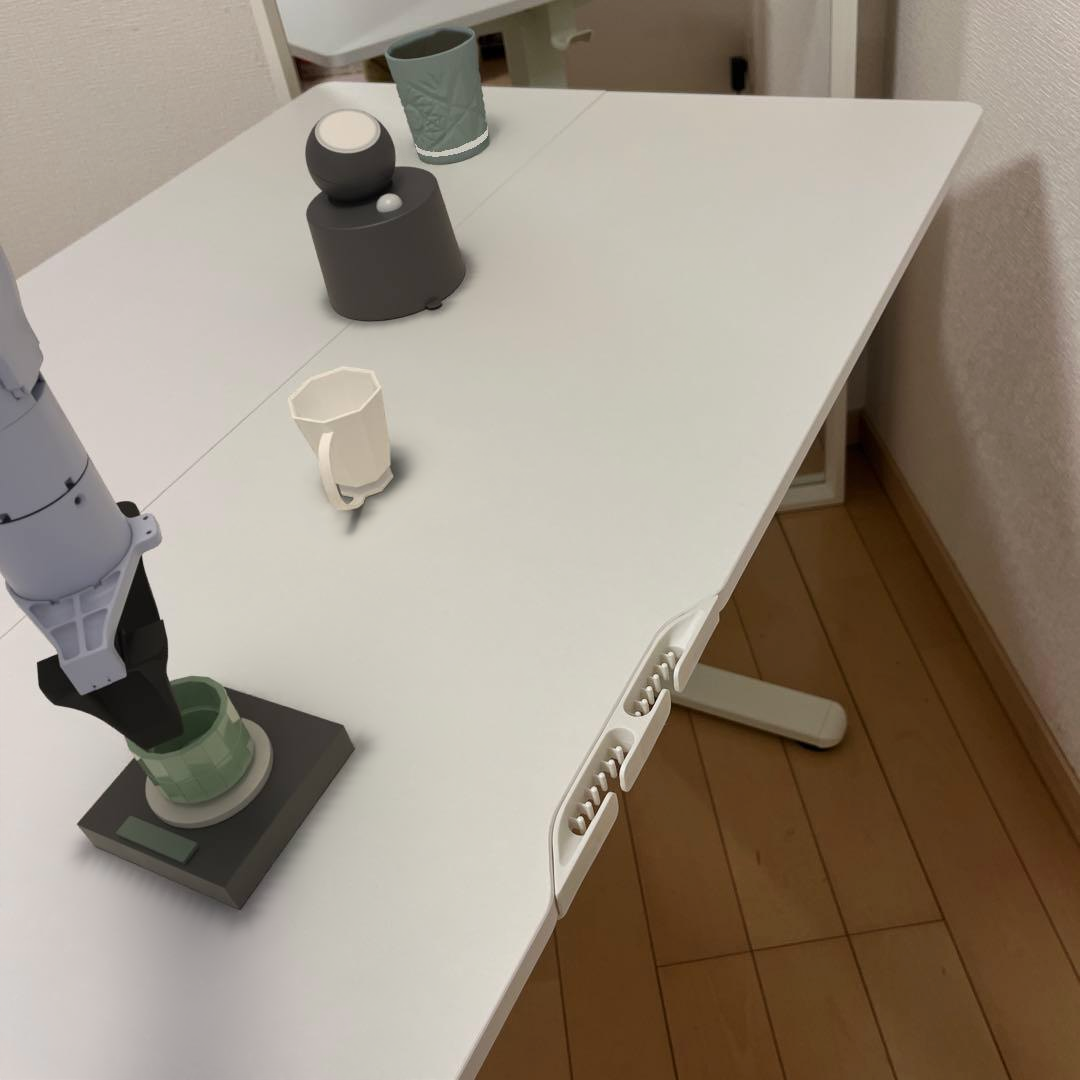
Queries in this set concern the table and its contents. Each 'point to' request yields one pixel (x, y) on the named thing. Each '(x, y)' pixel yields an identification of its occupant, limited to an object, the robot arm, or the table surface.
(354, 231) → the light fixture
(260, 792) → the scale
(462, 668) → the table surface
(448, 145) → the green embossed plant pot
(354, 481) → the cup
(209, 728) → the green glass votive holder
